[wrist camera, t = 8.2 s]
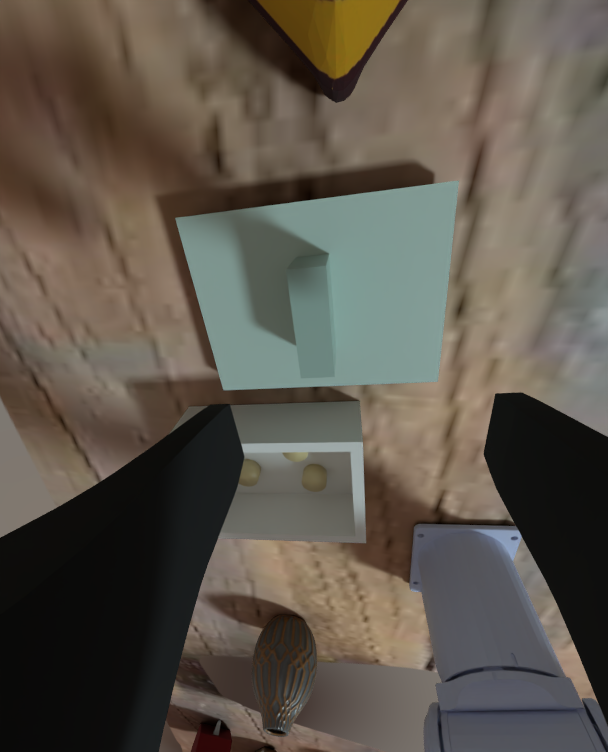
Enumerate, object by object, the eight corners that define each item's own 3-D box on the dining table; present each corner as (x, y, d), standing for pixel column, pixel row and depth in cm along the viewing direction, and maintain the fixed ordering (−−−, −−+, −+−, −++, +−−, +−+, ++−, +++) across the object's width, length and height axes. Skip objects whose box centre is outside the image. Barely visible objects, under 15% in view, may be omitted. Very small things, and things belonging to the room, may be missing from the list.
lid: (430, 368, 19) (454, 413, 15) (231, 377, 21) (204, 420, 17) (447, 181, 14) (487, 176, 10) (189, 216, 16) (139, 222, 12)
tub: (363, 495, 25) (366, 543, 22) (219, 493, 27) (201, 537, 23) (359, 400, 21) (362, 442, 17) (189, 406, 22) (160, 444, 19)
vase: (300, 642, 39) (290, 749, 32) (251, 622, 38) (228, 728, 31) (330, 622, 36) (326, 737, 28) (277, 600, 35) (258, 713, 27)
